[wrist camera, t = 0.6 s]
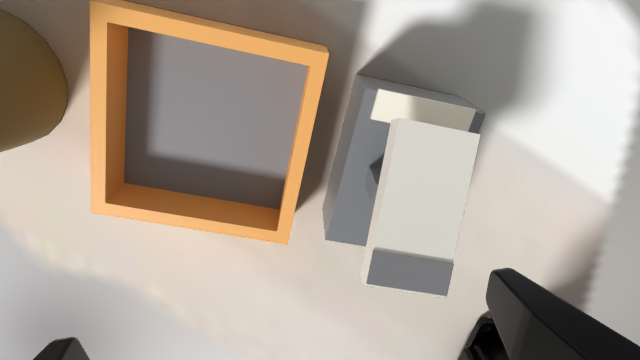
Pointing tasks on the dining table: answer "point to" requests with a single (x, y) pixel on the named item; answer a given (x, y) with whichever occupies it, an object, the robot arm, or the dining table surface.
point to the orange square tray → (199, 120)
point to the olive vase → (28, 84)
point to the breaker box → (379, 147)
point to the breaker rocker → (419, 208)
